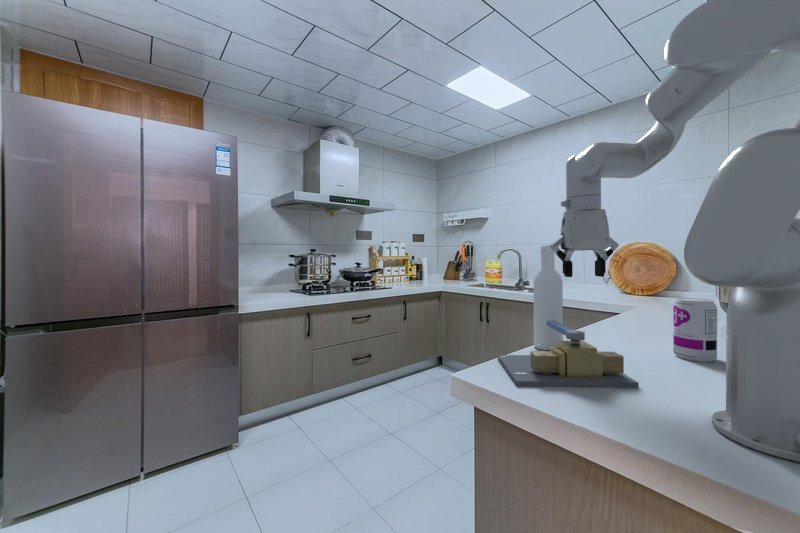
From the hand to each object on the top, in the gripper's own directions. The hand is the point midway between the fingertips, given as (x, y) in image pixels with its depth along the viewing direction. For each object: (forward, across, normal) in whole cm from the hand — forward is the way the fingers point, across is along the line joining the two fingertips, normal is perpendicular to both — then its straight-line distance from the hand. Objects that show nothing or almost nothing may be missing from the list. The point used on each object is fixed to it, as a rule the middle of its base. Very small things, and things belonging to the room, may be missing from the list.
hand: (583, 276), depth 80 cm
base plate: (+22, -9, -7) cm, 25 cm away
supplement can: (+22, +29, +4) cm, 36 cm away
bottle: (+22, -4, +13) cm, 26 cm away
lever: (+13, -7, -5) cm, 16 cm away
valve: (+22, -7, -11) cm, 25 cm away
